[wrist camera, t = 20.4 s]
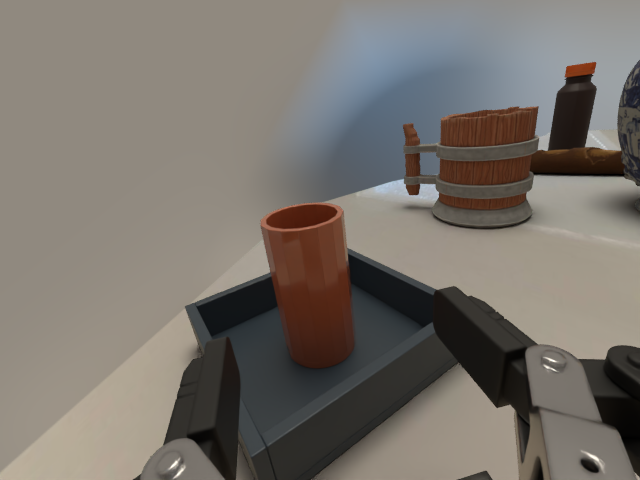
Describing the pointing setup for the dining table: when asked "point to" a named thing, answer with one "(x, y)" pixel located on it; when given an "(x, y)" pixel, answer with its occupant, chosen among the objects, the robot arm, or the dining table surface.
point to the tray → (323, 383)
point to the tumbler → (311, 281)
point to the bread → (577, 161)
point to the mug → (478, 166)
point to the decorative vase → (630, 127)
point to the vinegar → (573, 108)
